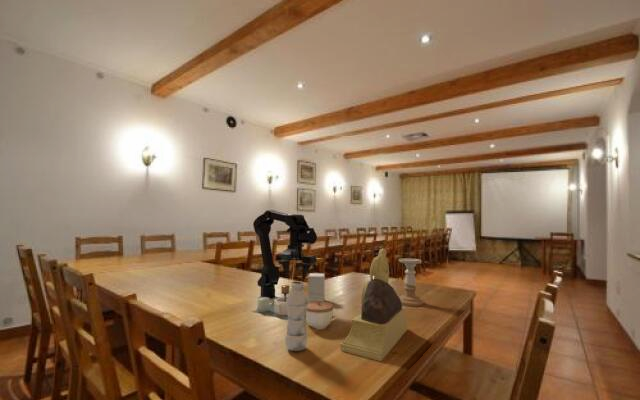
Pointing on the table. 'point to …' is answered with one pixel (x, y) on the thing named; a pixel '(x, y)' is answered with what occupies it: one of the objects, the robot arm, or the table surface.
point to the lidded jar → (319, 314)
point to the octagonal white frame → (280, 306)
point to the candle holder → (410, 283)
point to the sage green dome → (263, 305)
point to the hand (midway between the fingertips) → (295, 277)
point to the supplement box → (316, 287)
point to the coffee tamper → (285, 291)
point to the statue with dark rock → (377, 315)
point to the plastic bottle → (296, 318)
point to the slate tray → (272, 313)
